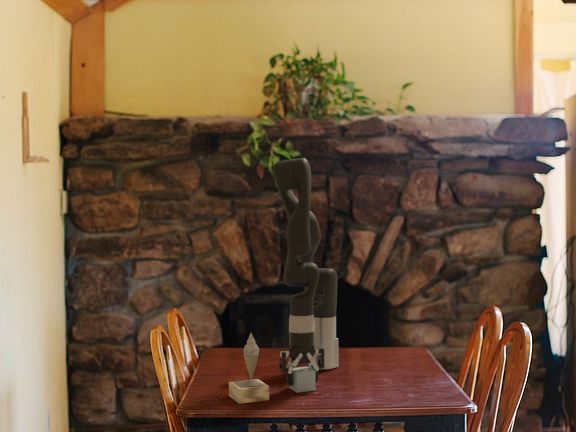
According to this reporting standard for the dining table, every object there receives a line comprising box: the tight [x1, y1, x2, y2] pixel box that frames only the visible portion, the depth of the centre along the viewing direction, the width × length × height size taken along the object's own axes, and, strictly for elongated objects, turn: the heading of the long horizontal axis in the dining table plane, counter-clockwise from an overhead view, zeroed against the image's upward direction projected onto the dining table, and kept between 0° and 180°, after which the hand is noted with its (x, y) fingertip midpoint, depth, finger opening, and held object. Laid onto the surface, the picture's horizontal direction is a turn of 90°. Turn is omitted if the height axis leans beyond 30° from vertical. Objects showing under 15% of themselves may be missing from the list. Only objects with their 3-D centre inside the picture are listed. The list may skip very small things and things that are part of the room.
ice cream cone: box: [242, 332, 260, 380], centre depth 242 cm, size 5×5×15 cm
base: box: [228, 378, 270, 405], centre depth 220 cm, size 9×9×4 cm
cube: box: [288, 366, 317, 393], centre depth 230 cm, size 6×6×6 cm
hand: (302, 384), depth 230 cm, fingers open, 7 cm apart
